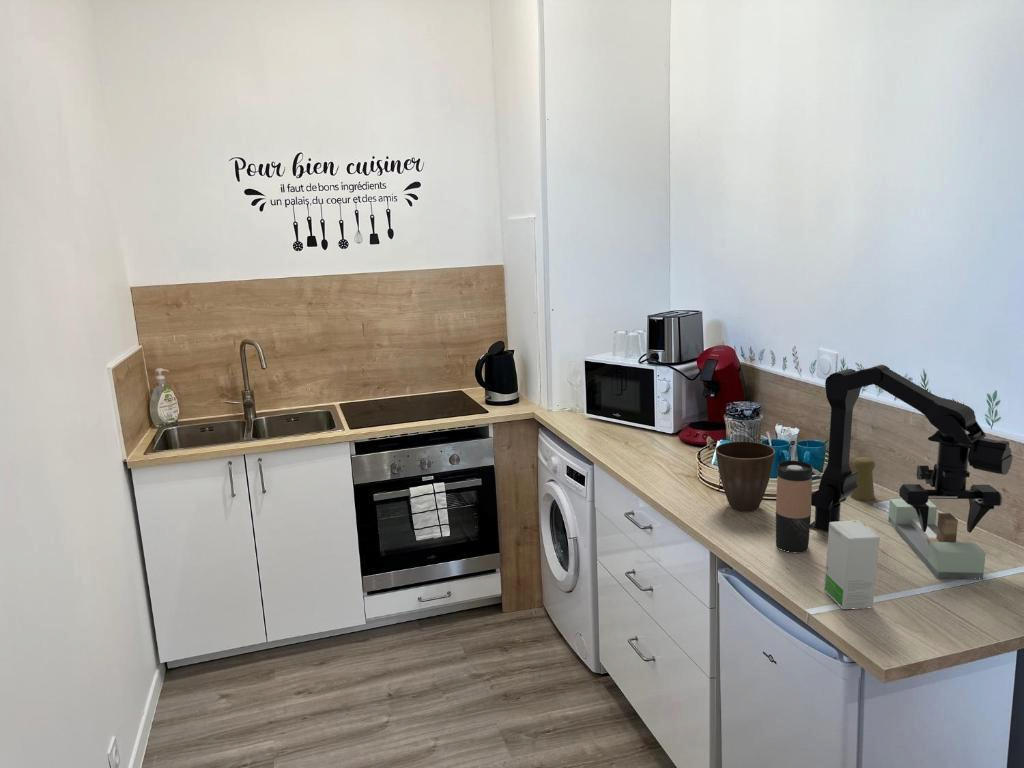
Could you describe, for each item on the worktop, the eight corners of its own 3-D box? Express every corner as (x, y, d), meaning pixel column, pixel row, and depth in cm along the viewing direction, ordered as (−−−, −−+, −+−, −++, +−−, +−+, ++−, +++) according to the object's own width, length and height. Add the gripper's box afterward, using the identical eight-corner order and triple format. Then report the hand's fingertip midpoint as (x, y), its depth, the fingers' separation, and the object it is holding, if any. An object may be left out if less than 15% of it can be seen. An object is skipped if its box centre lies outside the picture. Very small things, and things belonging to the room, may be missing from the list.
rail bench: (983, 579, 159) (985, 552, 158) (937, 578, 160) (939, 552, 159) (926, 522, 188) (928, 499, 187) (888, 521, 189) (889, 499, 188)
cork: (877, 501, 202) (879, 462, 200) (852, 500, 203) (855, 461, 201) (871, 493, 208) (873, 454, 206) (847, 492, 209) (849, 454, 207)
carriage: (964, 553, 164) (967, 521, 162) (935, 553, 165) (937, 521, 163) (955, 544, 169) (957, 512, 167) (926, 543, 169) (928, 512, 168)
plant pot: (742, 522, 193) (744, 462, 189) (703, 504, 206) (703, 447, 202) (785, 509, 200) (787, 451, 196) (744, 492, 213) (745, 438, 209)
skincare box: (823, 591, 157) (826, 521, 154) (853, 588, 158) (857, 518, 154) (843, 611, 149) (847, 538, 145) (876, 609, 149) (881, 535, 146)
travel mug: (808, 541, 180) (812, 461, 176) (810, 555, 173) (813, 472, 169) (774, 538, 183) (777, 459, 178) (774, 551, 176) (777, 469, 171)
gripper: (981, 451, 169) (975, 517, 172) (892, 451, 171) (888, 516, 175) (1006, 468, 158) (999, 538, 161) (911, 468, 161) (906, 536, 164)
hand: (946, 531), depth 166 cm, fingers open, 9 cm apart
